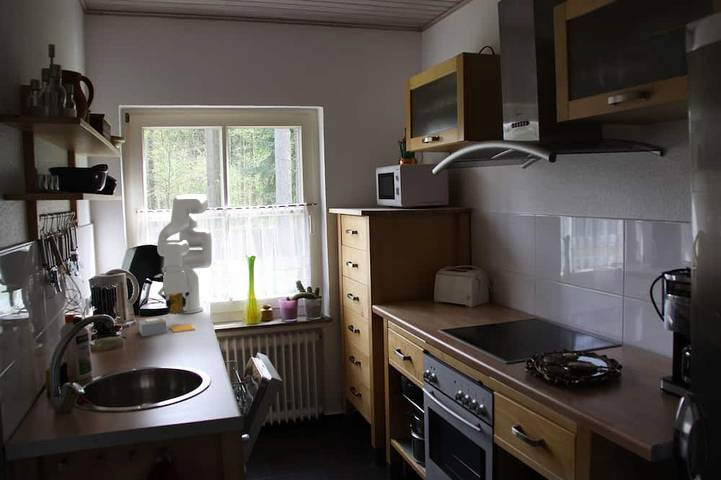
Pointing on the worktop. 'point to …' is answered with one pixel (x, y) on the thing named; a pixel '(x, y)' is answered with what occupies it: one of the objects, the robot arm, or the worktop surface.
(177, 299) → the condiment
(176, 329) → the lockout pad
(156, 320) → the button
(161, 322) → the box
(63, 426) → the worktop surface
